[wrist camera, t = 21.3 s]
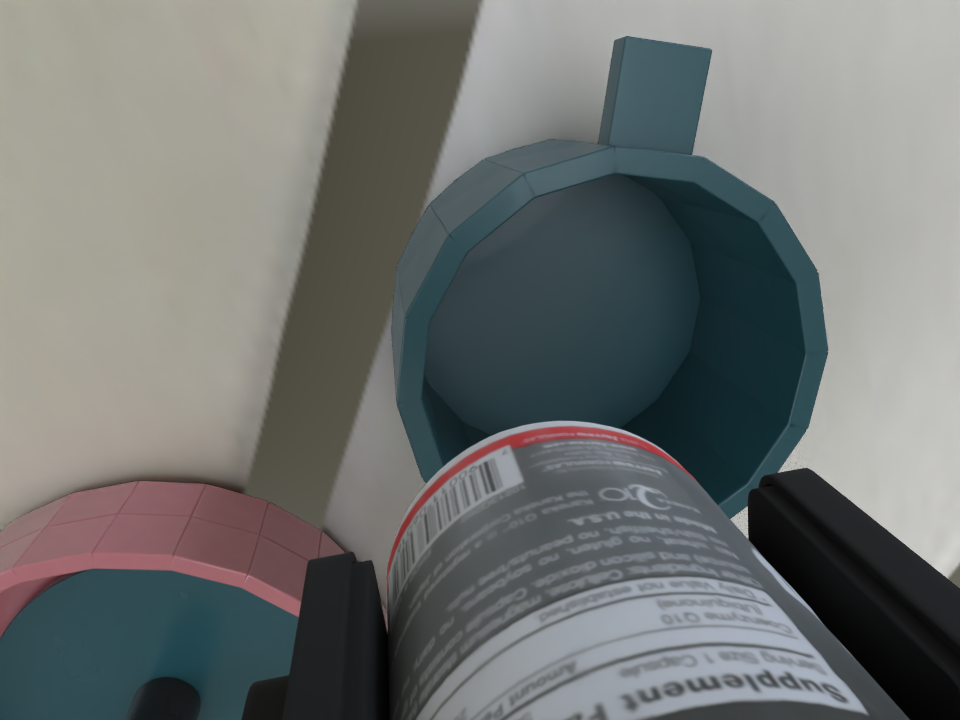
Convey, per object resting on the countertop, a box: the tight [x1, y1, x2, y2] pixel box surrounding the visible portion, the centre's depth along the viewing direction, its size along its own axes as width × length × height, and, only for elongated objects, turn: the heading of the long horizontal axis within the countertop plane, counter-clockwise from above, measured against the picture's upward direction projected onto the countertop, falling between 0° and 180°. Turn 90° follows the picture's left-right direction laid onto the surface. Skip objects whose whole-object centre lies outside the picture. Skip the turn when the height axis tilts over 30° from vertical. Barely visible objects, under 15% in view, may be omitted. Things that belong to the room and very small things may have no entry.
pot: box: [391, 36, 828, 519], centre depth 25 cm, size 12×18×8 cm
